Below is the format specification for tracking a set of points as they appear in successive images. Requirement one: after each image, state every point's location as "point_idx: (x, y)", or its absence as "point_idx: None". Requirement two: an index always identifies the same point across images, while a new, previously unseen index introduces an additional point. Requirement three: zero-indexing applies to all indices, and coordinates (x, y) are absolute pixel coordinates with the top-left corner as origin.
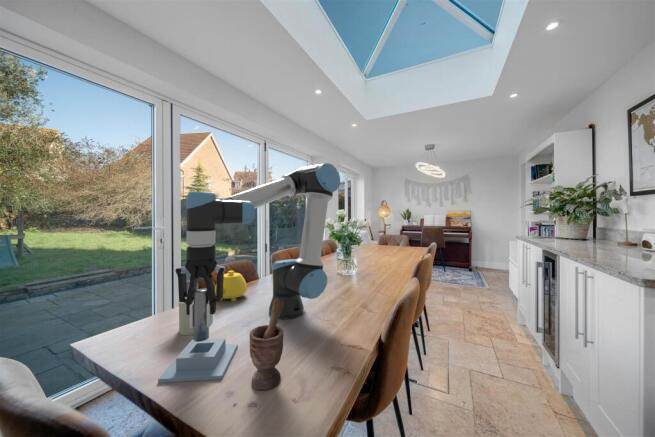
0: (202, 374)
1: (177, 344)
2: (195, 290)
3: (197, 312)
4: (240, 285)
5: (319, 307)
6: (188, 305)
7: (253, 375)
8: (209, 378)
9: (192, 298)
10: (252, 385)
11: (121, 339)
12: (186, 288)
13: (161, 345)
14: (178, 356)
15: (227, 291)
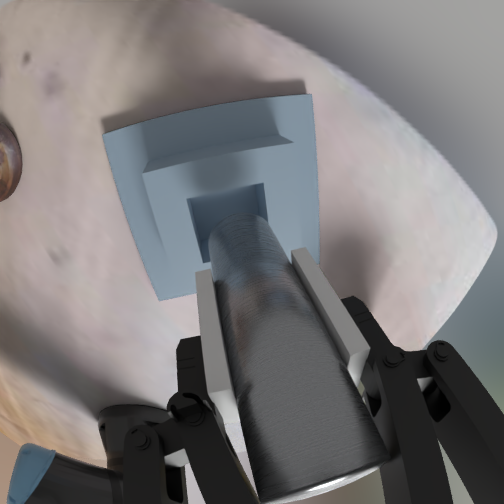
0: (172, 126)
1: (350, 272)
2: (378, 466)
3: (284, 315)
4: None
5: (86, 434)
6: (377, 346)
7: (7, 153)
8: (143, 121)
9: (375, 402)
10: (9, 130)
11: (458, 264)
12: (444, 443)
13: (386, 260)
14: (292, 156)
15: None
